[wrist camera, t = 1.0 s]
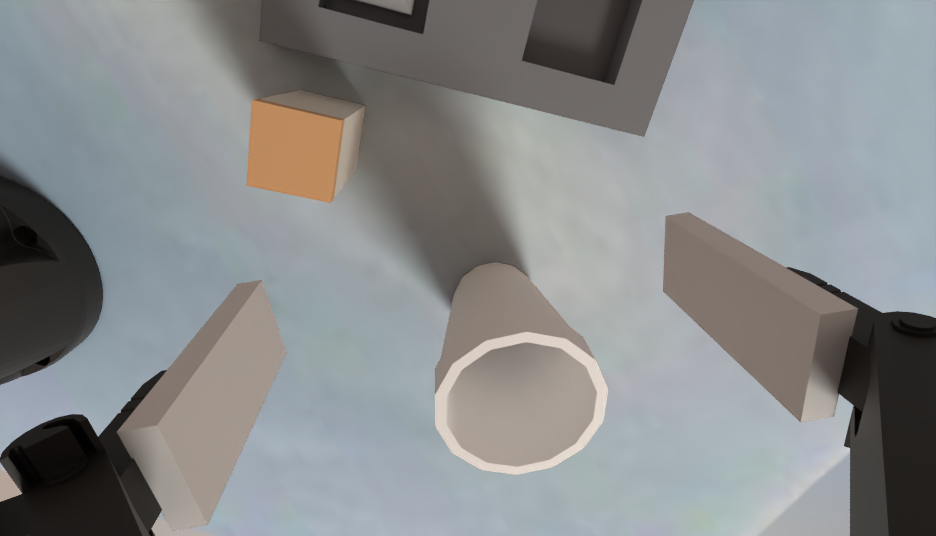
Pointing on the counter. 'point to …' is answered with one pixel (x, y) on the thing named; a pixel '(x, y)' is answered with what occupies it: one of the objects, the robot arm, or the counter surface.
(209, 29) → the counter surface
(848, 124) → the counter surface
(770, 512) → the counter surface
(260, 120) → the plug
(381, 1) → the grey tall block
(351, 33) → the socket strip
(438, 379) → the foam cup
